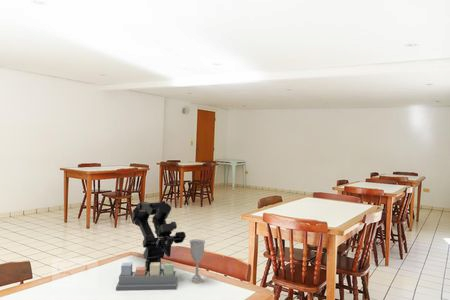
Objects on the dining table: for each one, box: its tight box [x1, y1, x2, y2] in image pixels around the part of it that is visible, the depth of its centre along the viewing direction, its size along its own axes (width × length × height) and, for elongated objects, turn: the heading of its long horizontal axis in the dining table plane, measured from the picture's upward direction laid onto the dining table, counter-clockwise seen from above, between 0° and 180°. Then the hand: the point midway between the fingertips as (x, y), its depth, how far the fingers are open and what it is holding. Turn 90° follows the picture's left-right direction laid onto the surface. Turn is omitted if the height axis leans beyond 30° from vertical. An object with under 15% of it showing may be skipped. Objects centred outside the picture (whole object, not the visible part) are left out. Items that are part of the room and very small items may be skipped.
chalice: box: [188, 238, 206, 284], centre depth 165 cm, size 7×7×18 cm
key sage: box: [163, 261, 175, 276], centre depth 160 cm, size 4×4×6 cm
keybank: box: [115, 270, 178, 291], centre depth 160 cm, size 25×10×5 cm, turn 95°
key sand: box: [150, 262, 160, 276], centre depth 160 cm, size 4×4×6 cm
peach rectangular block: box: [135, 266, 147, 276], centre depth 159 cm, size 4×4×6 cm
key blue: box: [120, 262, 133, 276], centre depth 159 cm, size 4×4×6 cm
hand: (169, 256), depth 160 cm, fingers closed
